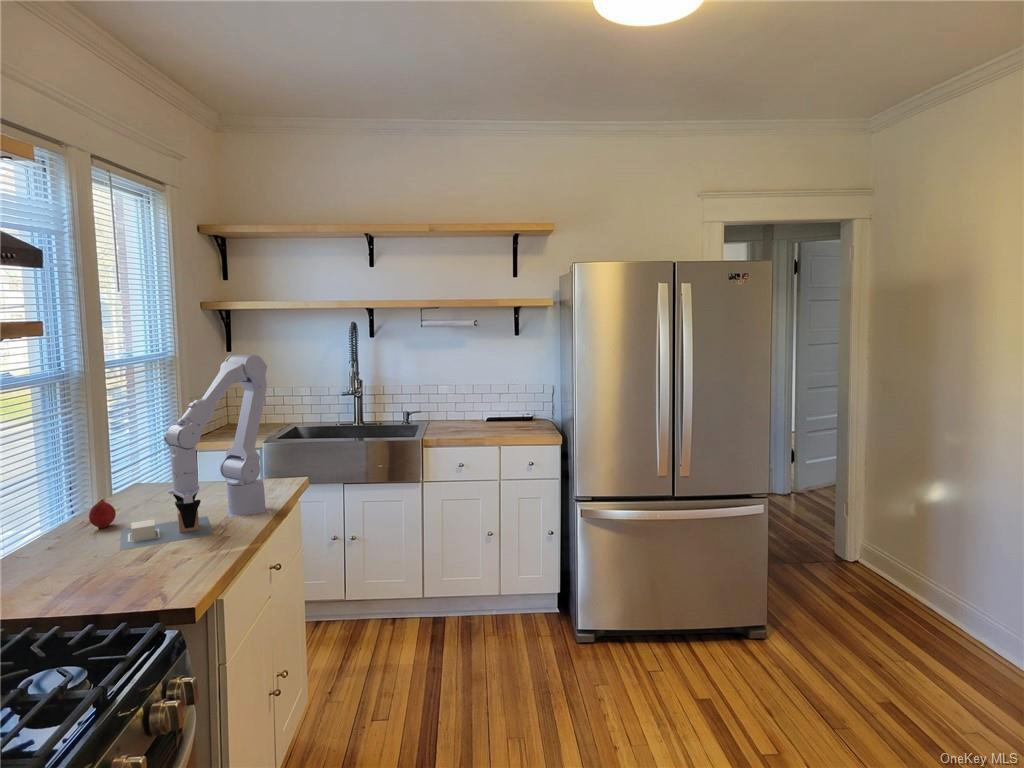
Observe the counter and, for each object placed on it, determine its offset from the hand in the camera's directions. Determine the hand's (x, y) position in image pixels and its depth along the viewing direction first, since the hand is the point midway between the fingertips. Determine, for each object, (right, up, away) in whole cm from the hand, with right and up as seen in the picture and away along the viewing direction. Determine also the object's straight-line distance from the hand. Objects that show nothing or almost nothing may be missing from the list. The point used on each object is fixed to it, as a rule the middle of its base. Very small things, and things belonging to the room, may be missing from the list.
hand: (188, 523), depth 164 cm
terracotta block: (0, -1, 0) cm, 1 cm away
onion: (-23, -2, +2) cm, 23 cm away
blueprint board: (-4, -2, -2) cm, 5 cm away
